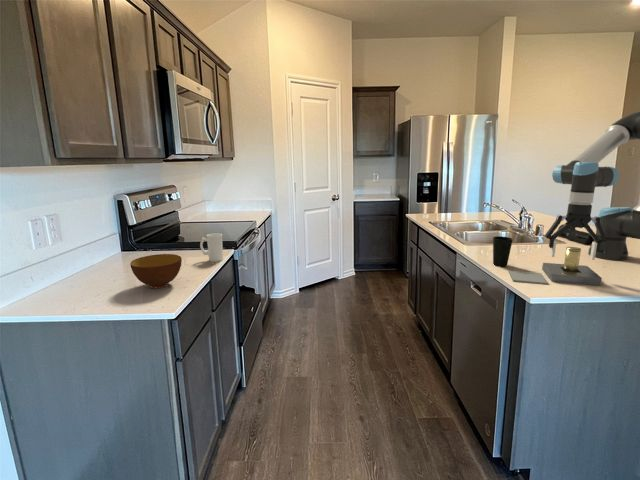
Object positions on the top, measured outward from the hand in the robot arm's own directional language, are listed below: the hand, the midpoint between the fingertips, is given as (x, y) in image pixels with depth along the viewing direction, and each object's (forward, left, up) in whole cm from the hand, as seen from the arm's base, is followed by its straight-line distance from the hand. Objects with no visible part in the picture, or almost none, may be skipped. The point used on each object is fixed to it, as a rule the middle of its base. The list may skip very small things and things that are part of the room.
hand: (571, 257), depth 151 cm
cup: (+24, -10, -8) cm, 27 cm away
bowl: (+150, +55, -8) cm, 160 cm away
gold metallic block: (0, 0, -8) cm, 8 cm away
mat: (+16, +6, -8) cm, 19 cm away
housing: (0, 0, -8) cm, 8 cm away
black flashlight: (-21, -72, -8) cm, 75 cm away
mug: (+150, +19, -8) cm, 151 cm away
